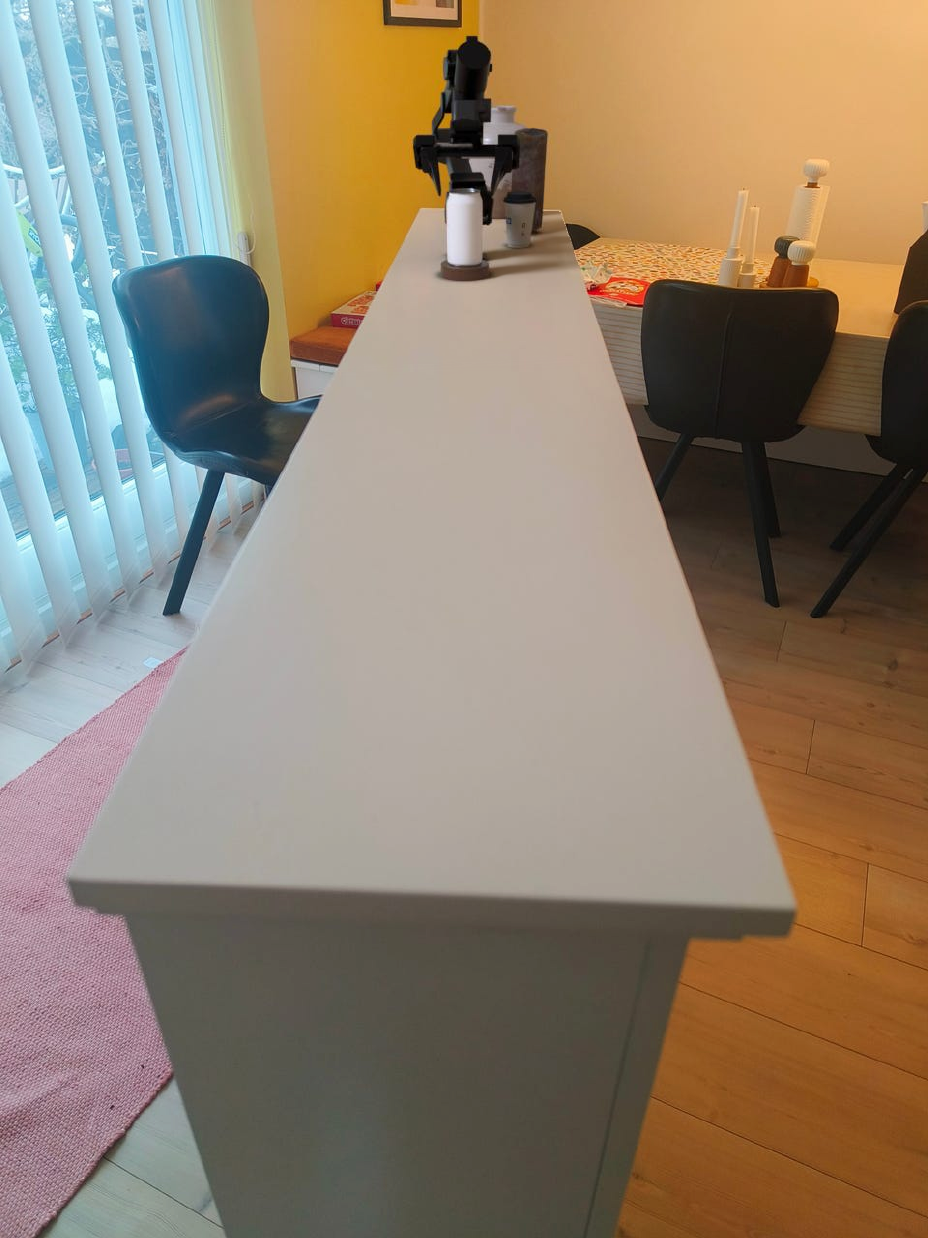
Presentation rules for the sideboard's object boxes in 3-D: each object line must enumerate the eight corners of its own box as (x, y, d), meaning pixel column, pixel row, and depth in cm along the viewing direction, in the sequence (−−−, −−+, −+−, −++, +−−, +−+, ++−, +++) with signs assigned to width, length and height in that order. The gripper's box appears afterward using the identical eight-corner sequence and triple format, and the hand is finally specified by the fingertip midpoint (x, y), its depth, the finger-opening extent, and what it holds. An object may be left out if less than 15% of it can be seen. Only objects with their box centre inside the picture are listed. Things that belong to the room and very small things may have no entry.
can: (446, 259, 154) (444, 188, 147) (480, 258, 154) (480, 187, 147) (448, 267, 148) (447, 193, 141) (484, 266, 149) (484, 193, 142)
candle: (546, 229, 186) (551, 127, 175) (538, 236, 181) (542, 131, 169) (514, 228, 188) (517, 127, 177) (505, 234, 183) (507, 130, 171)
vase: (475, 222, 194) (475, 109, 181) (461, 210, 207) (460, 104, 194) (539, 219, 197) (543, 107, 184) (521, 208, 210) (525, 103, 196)
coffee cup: (537, 242, 175) (539, 190, 169) (532, 249, 169) (534, 195, 164) (505, 241, 176) (506, 189, 170) (499, 248, 171) (500, 194, 165)
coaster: (439, 269, 156) (438, 258, 154) (485, 268, 156) (485, 257, 155) (442, 281, 148) (442, 269, 147) (491, 279, 149) (492, 268, 148)
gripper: (411, 79, 138) (407, 161, 136) (521, 78, 137) (520, 161, 135) (417, 129, 149) (414, 206, 147) (519, 128, 148) (518, 206, 146)
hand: (465, 194), depth 143 cm, fingers open, 9 cm apart
